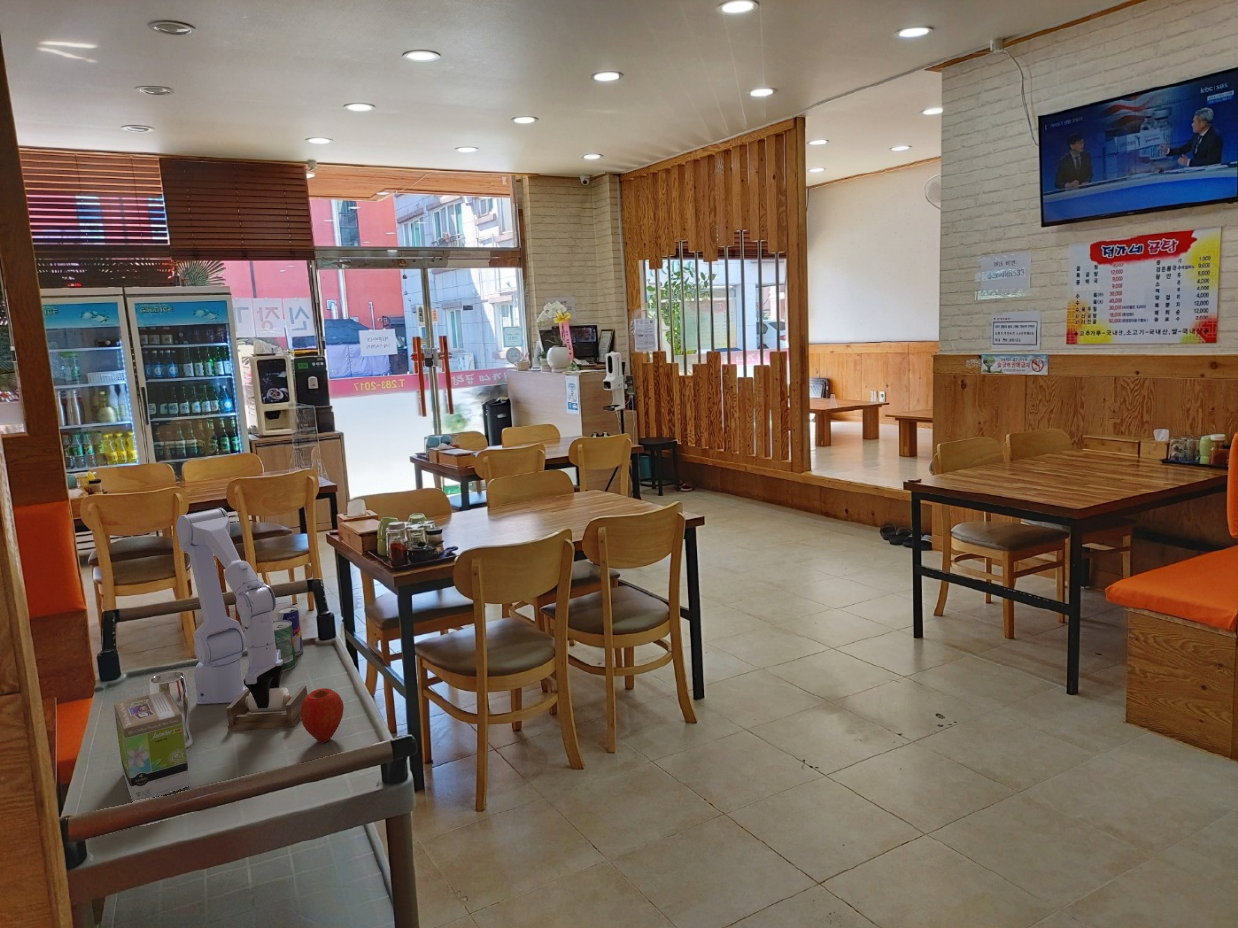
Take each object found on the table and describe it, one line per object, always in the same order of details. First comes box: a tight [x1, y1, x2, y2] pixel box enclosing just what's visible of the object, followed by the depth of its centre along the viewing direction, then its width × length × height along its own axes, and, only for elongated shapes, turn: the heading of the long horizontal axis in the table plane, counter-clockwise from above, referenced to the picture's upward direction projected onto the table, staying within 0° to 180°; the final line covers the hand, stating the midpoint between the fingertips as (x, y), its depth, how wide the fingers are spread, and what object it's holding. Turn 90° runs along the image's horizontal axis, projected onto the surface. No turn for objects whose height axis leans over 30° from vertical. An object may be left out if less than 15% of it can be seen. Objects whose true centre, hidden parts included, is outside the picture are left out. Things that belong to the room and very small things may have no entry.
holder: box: [226, 685, 308, 731], centre depth 192 cm, size 14×10×5 cm
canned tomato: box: [273, 619, 297, 673], centre depth 221 cm, size 8×8×11 cm
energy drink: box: [276, 606, 304, 657], centre depth 230 cm, size 5×5×12 cm
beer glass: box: [148, 670, 194, 749], centre depth 180 cm, size 7×7×15 cm
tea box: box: [113, 691, 191, 802], centre depth 166 cm, size 15×10×15 cm, turn 35°
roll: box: [245, 687, 293, 713], centre depth 191 cm, size 9×5×5 cm, turn 90°
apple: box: [300, 687, 344, 743], centre depth 179 cm, size 9×8×11 cm
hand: (268, 702), depth 191 cm, fingers closed on roll, 5 cm apart
